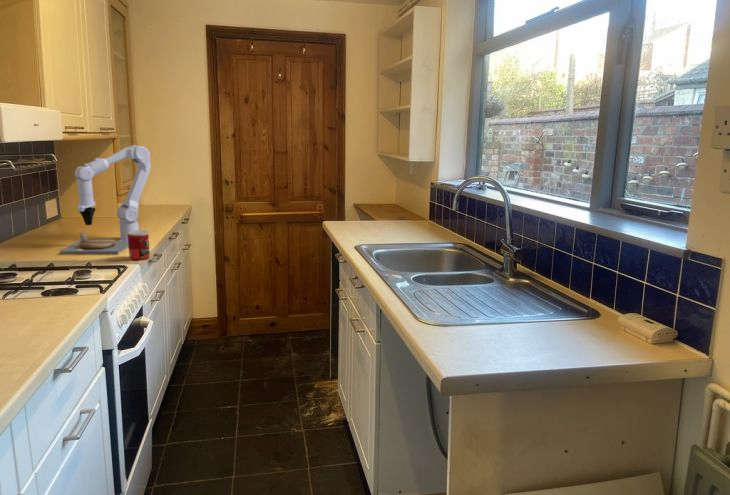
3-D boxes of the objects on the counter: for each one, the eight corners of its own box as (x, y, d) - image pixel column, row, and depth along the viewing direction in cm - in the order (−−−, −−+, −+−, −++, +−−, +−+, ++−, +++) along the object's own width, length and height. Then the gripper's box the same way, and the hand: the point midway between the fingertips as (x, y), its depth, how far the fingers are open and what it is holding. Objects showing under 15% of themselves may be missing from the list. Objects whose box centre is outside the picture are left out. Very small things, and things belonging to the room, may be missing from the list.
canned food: (143, 261, 223) (141, 234, 220) (125, 259, 224) (123, 233, 222) (153, 256, 230) (152, 231, 228) (136, 255, 232) (134, 229, 229)
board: (79, 243, 248) (78, 240, 247) (132, 244, 250) (131, 240, 250) (60, 254, 229) (60, 250, 229) (117, 254, 232) (117, 250, 231)
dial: (87, 241, 245) (86, 230, 244) (119, 241, 247) (118, 230, 245) (73, 249, 232) (72, 237, 231) (108, 249, 233) (107, 237, 232)
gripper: (82, 191, 247) (85, 221, 250) (69, 196, 233) (72, 228, 236) (99, 191, 247) (101, 221, 251) (86, 196, 233) (89, 228, 237)
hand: (88, 224), depth 243 cm, fingers closed
